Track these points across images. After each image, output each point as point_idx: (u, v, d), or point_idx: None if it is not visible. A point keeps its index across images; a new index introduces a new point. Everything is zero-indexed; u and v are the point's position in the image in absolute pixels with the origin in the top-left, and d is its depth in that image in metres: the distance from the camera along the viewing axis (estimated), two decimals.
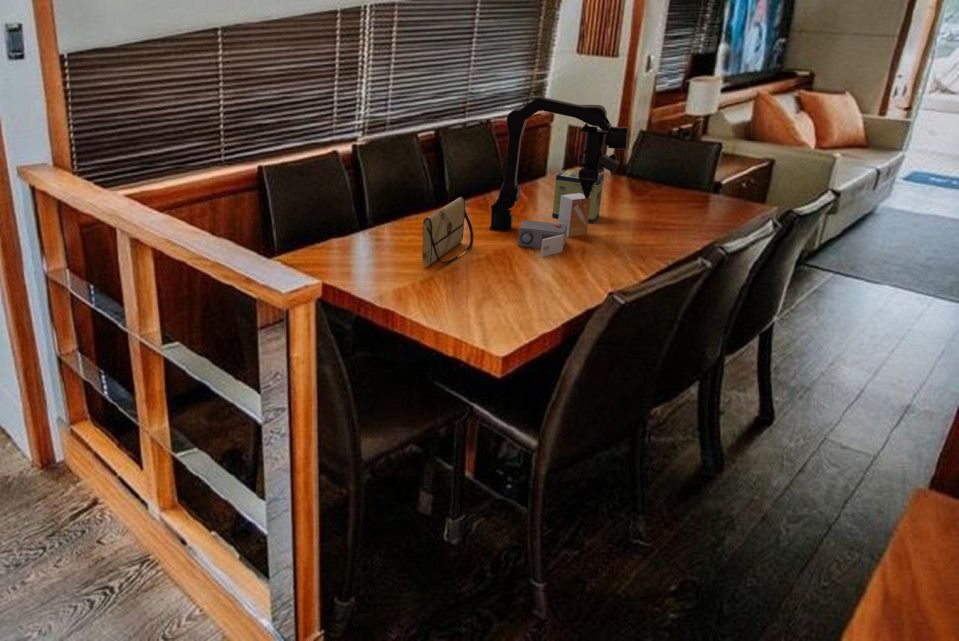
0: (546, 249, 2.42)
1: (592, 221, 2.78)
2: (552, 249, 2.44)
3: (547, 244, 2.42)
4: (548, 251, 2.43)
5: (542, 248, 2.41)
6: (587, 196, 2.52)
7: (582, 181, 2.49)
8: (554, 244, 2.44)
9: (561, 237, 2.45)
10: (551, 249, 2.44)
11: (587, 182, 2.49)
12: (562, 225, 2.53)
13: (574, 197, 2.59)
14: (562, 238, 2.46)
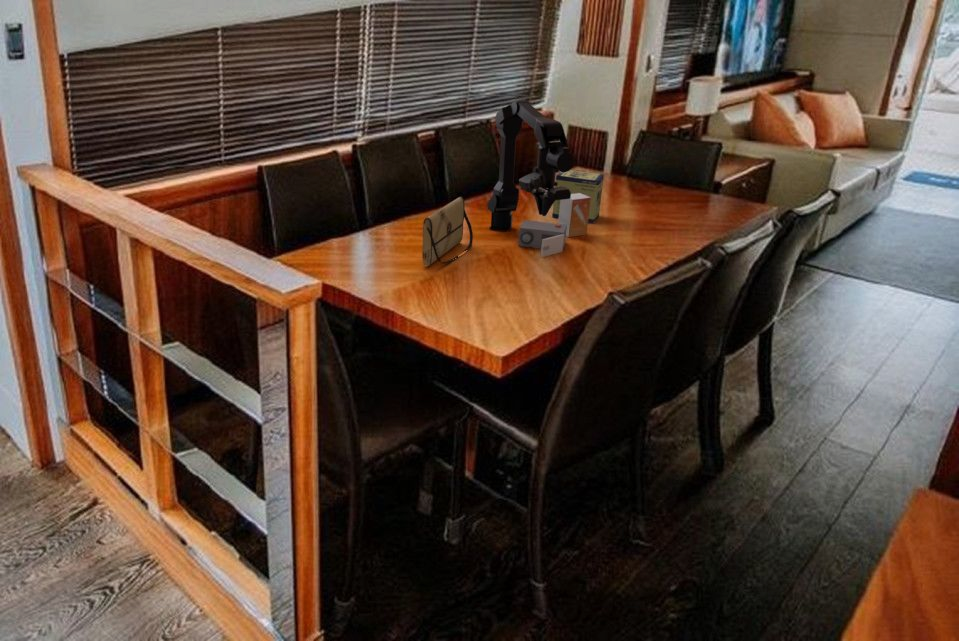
0: (546, 249, 2.42)
1: (592, 221, 2.78)
2: (552, 249, 2.44)
3: (547, 244, 2.42)
4: (548, 251, 2.43)
5: (542, 248, 2.41)
6: None
7: None
8: (554, 244, 2.44)
9: (561, 237, 2.45)
10: (551, 249, 2.44)
11: None
12: (562, 225, 2.53)
13: (574, 197, 2.59)
14: (562, 238, 2.46)
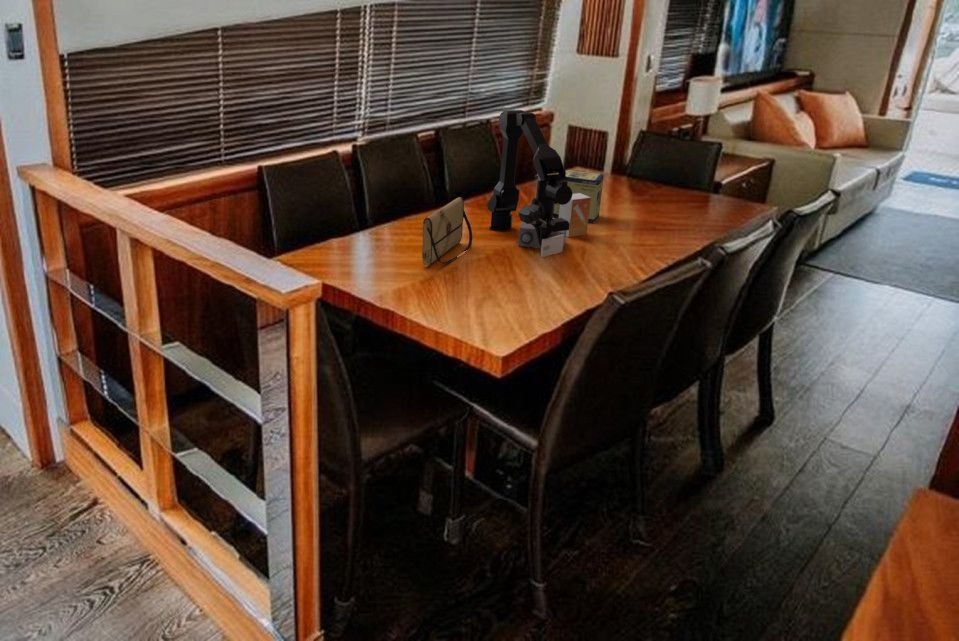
0: (546, 249, 2.42)
1: (592, 221, 2.78)
2: (552, 249, 2.44)
3: (547, 244, 2.42)
4: (548, 251, 2.43)
5: (542, 248, 2.41)
6: None
7: None
8: (554, 244, 2.44)
9: (561, 237, 2.45)
10: (551, 249, 2.44)
11: None
12: None
13: (574, 197, 2.59)
14: (562, 238, 2.46)
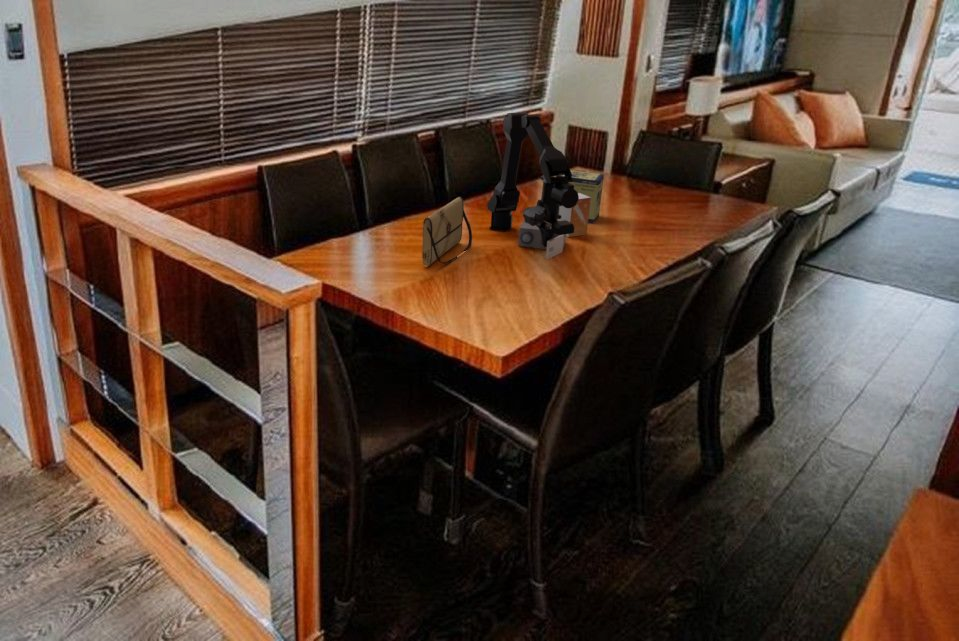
0: (551, 250, 2.41)
1: (592, 221, 2.78)
2: (555, 250, 2.44)
3: (552, 245, 2.41)
4: (552, 252, 2.42)
5: (548, 250, 2.40)
6: None
7: None
8: (556, 245, 2.44)
9: (562, 237, 2.45)
10: (554, 250, 2.43)
11: None
12: None
13: None
14: (563, 238, 2.46)
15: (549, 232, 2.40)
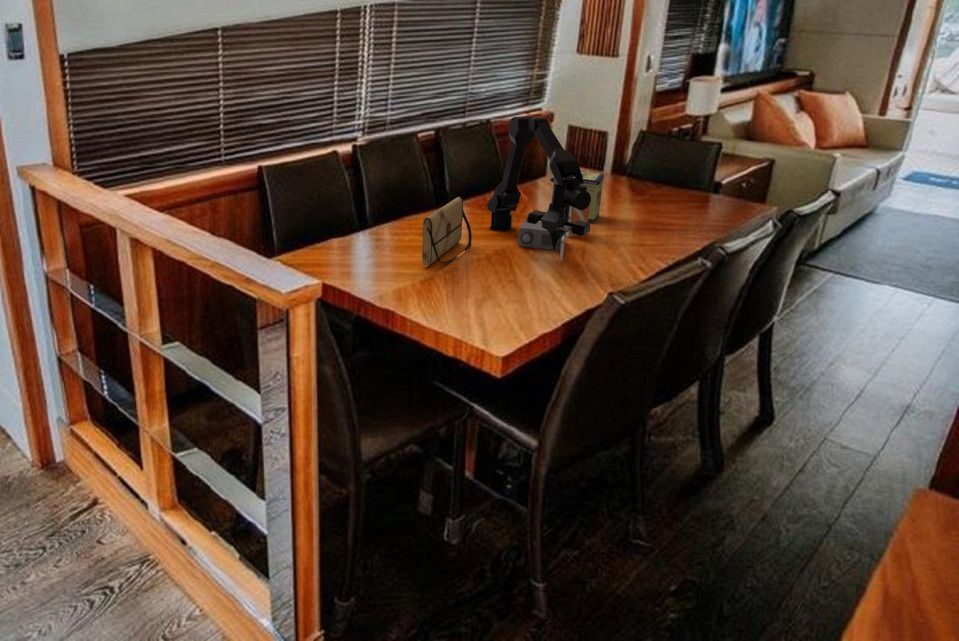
0: None
1: (592, 221, 2.78)
2: None
3: None
4: None
5: (562, 252, 2.39)
6: None
7: None
8: None
9: None
10: None
11: None
12: None
13: None
14: None
15: None
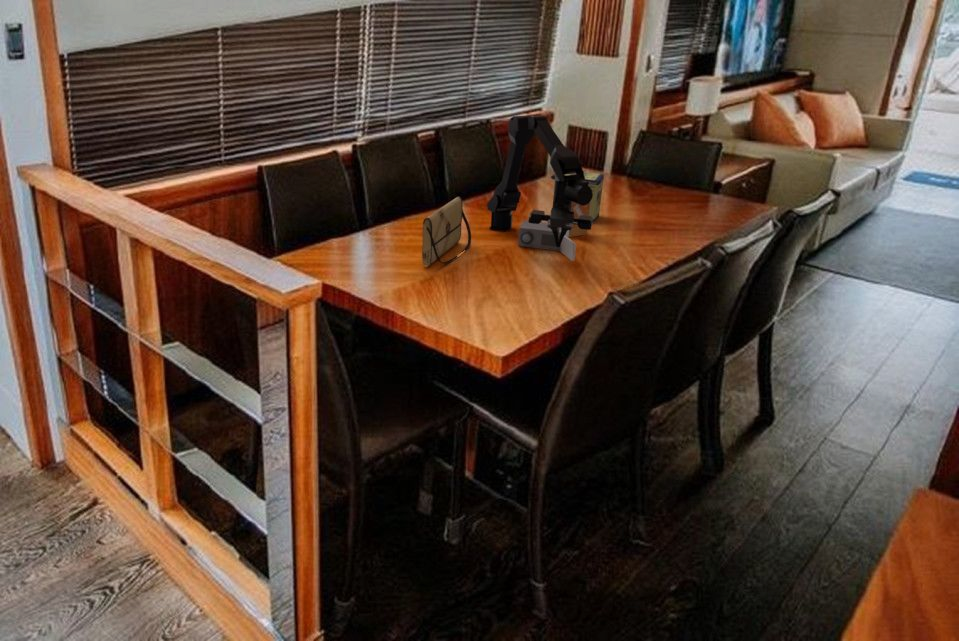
0: None
1: None
2: None
3: None
4: None
5: (574, 252, 2.39)
6: None
7: None
8: None
9: None
10: None
11: None
12: None
13: None
14: None
15: None
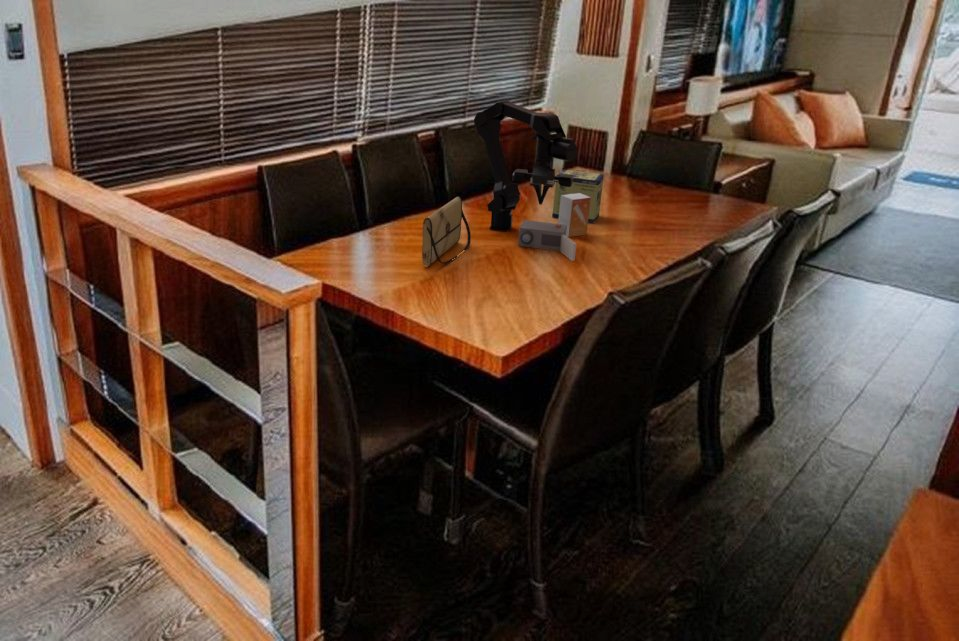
0: None
1: (592, 221, 2.78)
2: None
3: None
4: None
5: (574, 252, 2.39)
6: None
7: None
8: None
9: None
10: None
11: None
12: (562, 225, 2.53)
13: (574, 197, 2.59)
14: None
15: None
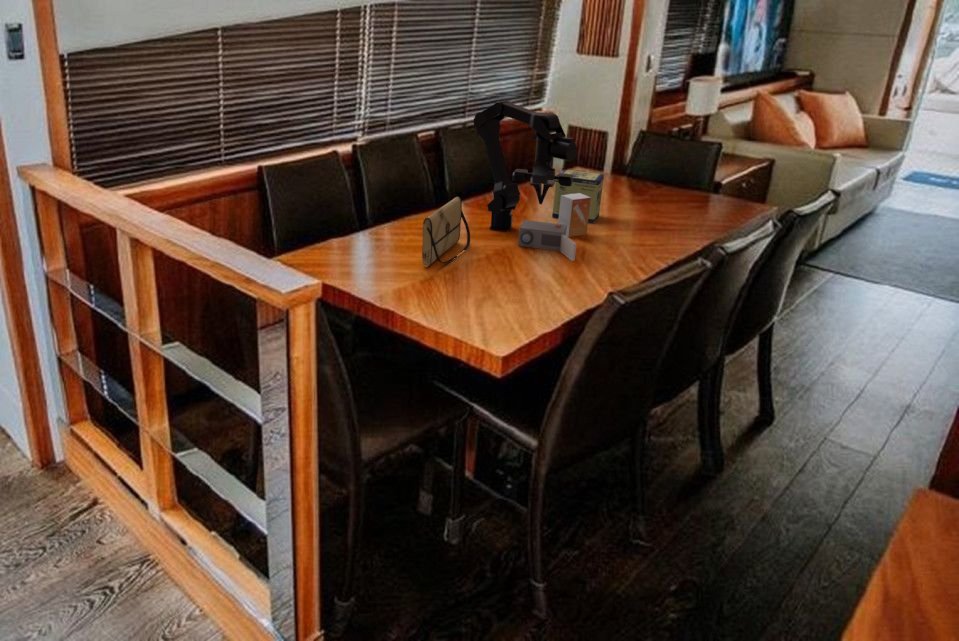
0: None
1: (592, 221, 2.78)
2: None
3: None
4: None
5: (574, 252, 2.39)
6: None
7: None
8: None
9: None
10: None
11: None
12: (562, 225, 2.53)
13: (574, 197, 2.59)
14: None
15: None
